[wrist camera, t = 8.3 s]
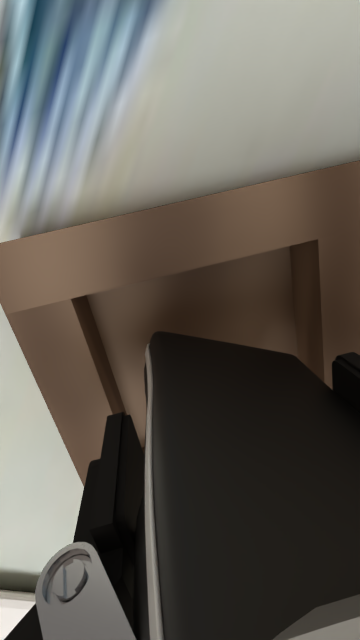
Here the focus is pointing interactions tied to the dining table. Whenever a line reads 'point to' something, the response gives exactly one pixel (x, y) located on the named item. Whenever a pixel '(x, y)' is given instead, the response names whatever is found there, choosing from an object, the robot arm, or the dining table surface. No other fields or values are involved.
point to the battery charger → (242, 493)
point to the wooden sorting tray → (184, 292)
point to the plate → (13, 609)
